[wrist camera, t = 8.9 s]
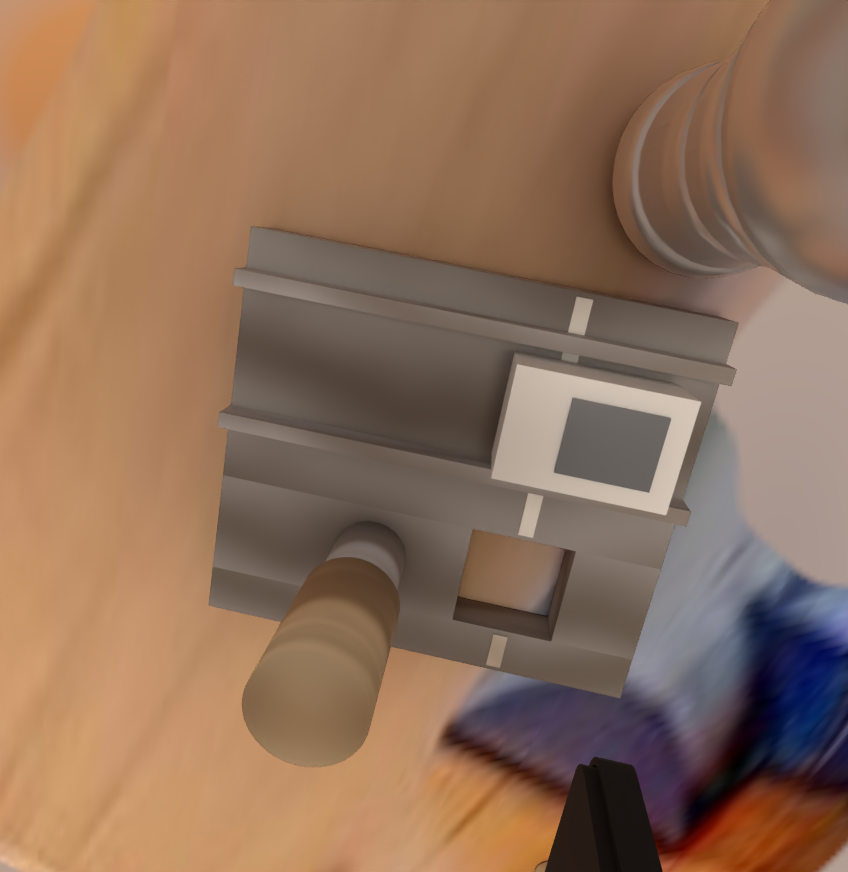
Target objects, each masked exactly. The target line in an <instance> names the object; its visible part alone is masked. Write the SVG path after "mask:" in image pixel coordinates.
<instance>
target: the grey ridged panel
mask: <svg viewBox="0 0 848 872" xmlns="http://www.w3.org/2000/svg"><path fill="white" fill-rule="evenodd" d="M233 285H234V286H239V287H244V292H243V301H242V310H241V319H240V328H239V337H238V346H237V355H236V364H235V373H234V382H233V391H232V400H231V405H230V406H229V407H227V408H225V409H224V410H222V411H220V412H219V419H218V427H220V428H225V429H228V436H227V445H226V454H225V463H224V472H223V481H222V489H221V498H220V507H219V516H218V525H217V534H216V543H215V552H214V561H213V570H212V579H211V588H210V597H209V606H213V607H217V608H222V609H226V610H230V611H235V612H239V613H244V614H248V615H253V616H257V617H262V618H266V619H270V620H275V621H279V622H282V620H283V619H284V617H285V615H286V613H287V612H288V610H289V608H290V606H291V605H292V603H293V601H294V599H295V597H296V596H297V594H298V592H299V590H300V589H301V587H302V585H303V583H304V582H305V580H306V578H307V576H308V575H309V574H310V573H311V571H312V570H313V569H315V568H316V567H317V566H318V565H320V564H321V563H323V562H325V560H326V559H327V557H328V555H329V553H330V551H331V549H332V547H333V546H334V544H335V542H336V540H337V538H338V537H339V535H340V534H341V532H342V531H343V530H344V529H346V528H347V527H348V526H350V525H352V524H355V523H358V522H363V521H372V522H377V523H381V524H383V525H385V526H387V527H389V528H390V529H392V530H393V531H394V532H395V533H396V534H397V535H398V536H399V538H400V539H401V541H402V543H403V545H404V548H405V553H406V560H405V565H404V569H403V572H402V576H401V579H400V583H399V586H398V590H397V592H398V595H399V600H400V613H399V617H398V621H397V625H396V629H395V633H394V636H393V640H392V644H391V647H395V648H399V649H404V650H408V651H413V652H417V653H422V654H426V655H431V656H435V657H440V658H444V659H448V660H453V661H457V662H462V663H466V664H471V665H475V666H480V667H484V668H488V669H493V670H497V671H502V672H506V673H511V674H515V675H520V676H524V677H528V678H533V679H537V680H542V681H546V682H551V683H555V684H560V685H564V686H569V687H573V688H577V689H582V690H586V691H591V692H595V693H600V694H604V695H609V696H613V697H617V698H620V697H621V694H622V690H623V687H624V684H625V681H626V678H627V675H628V672H629V668H630V665H631V662H632V659H633V656H634V653H635V649H636V646H637V643H638V640H639V637H640V634H641V630H642V627H643V624H644V621H645V618H646V615H647V611H648V608H649V605H650V602H651V599H652V596H653V592H654V589H655V586H656V583H657V580H658V577H659V573H660V570H661V567H662V564H663V561H664V558H665V554H666V551H667V548H668V545H669V542H670V539H671V535H672V532H673V529H674V526H675V524H677V525H681V526H687V523H688V520H689V517H690V514H691V511H690V510H689V508H688V507H687V506H686V504H685V503H684V501H683V498H684V494H685V491H686V488H687V485H688V482H689V479H690V475H691V472H692V469H693V466H694V463H695V460H696V456H697V453H698V450H699V447H700V444H701V441H702V437H703V434H704V431H705V428H706V425H707V422H708V418H709V415H710V412H711V409H712V406H713V403H714V399H715V396H716V393H717V390H718V387H719V384H723V385H728V386H732V383H733V380H734V377H735V374H736V369H735V368H733V367H731V366H729V365H727V364H726V361H727V358H728V355H729V352H730V349H731V346H732V343H733V339H734V336H735V333H736V330H737V327H738V324H739V323H737V322H734V321H731V320H728V319H725V318H722V317H717V316H712V315H707V314H702V313H697V312H692V311H687V310H682V309H677V308H672V307H666V306H661V305H656V304H651V303H646V302H641V301H636V300H631V299H626V298H621V297H616V296H611V295H606V294H601V293H596V292H591V291H586V290H581V289H576V288H571V287H566V286H560V285H555V284H550V283H545V282H540V281H535V280H530V279H525V278H520V277H515V276H510V275H505V274H500V273H495V272H490V271H485V270H480V269H475V268H470V267H465V266H459V265H454V264H449V263H444V262H439V261H434V260H429V259H424V258H419V257H414V256H409V255H404V254H399V253H394V252H389V251H384V250H379V249H374V248H369V247H364V246H358V245H353V244H348V243H343V242H338V241H333V240H328V239H323V238H318V237H313V236H308V235H303V234H298V233H293V232H288V231H283V230H278V229H273V228H267V227H254V226H251V230H250V239H249V248H248V257H247V266H246V267H245V268H235V270H234V279H233ZM515 351H519V352H524V353H528V354H533V355H538V356H543V357H548V358H553V359H558V360H563V361H568V362H573V363H578V364H583V365H588V366H592V367H597V368H602V369H607V370H612V371H617V372H622V373H627V374H632V375H637V376H642V377H647V378H652V379H657V380H661V381H666V382H671V383H676V384H679V385H680V386H681V387H683V388H684V389H685V390H687V391H688V392H689V393H690V394H692V395H693V396H694V397H696V398H697V399H698V400H700V401H701V405H700V408H699V411H698V414H697V418H696V421H695V424H694V427H693V430H692V434H691V437H690V440H689V443H688V447H687V450H686V453H685V456H684V459H683V463H682V466H681V469H680V472H679V475H678V479H677V482H676V485H675V488H674V492H673V495H672V498H671V501H670V504H669V508H668V511H667V514H666V515H662V514H657V513H652V512H648V511H643V510H638V509H633V508H629V507H624V506H619V505H615V504H610V503H605V502H600V501H596V500H591V499H586V498H582V497H577V496H572V495H567V494H563V493H558V492H553V491H548V490H544V489H539V488H534V487H530V486H525V485H520V484H515V483H511V482H506V481H501V480H497V479H492V478H491V460H492V449H493V445H494V440H495V436H496V432H497V427H498V423H499V418H500V414H501V410H502V405H503V401H504V396H505V392H506V388H507V383H508V379H509V374H510V370H511V365H512V361H513V357H514V352H515ZM473 529H475V530H480V531H484V532H489V533H494V534H498V535H503V536H508V537H512V538H517V539H521V540H526V541H531V542H535V543H540V544H545V545H549V546H554V547H559V548H563V549H566V551H565V555H564V559H563V562H562V566H561V570H560V573H559V577H558V581H557V585H556V588H555V592H554V596H553V599H552V603H551V607H550V610H549V614H548V617H546V616H541V615H537V614H532V613H528V612H523V611H519V610H514V609H510V608H505V607H501V606H496V605H492V604H487V603H483V602H478V601H473V600H469V599H464V598H460V597H458V592H459V588H460V583H461V579H462V575H463V570H464V566H465V561H466V557H467V552H468V548H469V544H470V539H471V535H472V530H473Z"/></svg>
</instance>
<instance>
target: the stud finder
mask: <svg viewBox="0 0 848 872" xmlns="http://www.w3.org/2000/svg"><path fill="white" fill-rule="evenodd" d="M700 405H701V401H700V400H698V399H697V398H696V397H694V396H693V395H692V394H690V393H689V392H688V391H687V390H685V389H684V388H683V387H681V386H680V385H679V384H676V383H671V382H666V381H661V380H657V379H652V378H647V377H642V376H637V375H632V374H627V373H622V372H617V371H612V370H607V369H602V368H597V367H592V366H588V365H583V364H578V363H573V362H568V361H563V360H558V359H553V358H548V357H543V356H538V355H533V354H528V353H524V352H519V351H515V352H514V357H513V361H512V365H511V370H510V374H509V379H508V383H507V388H506V392H505V396H504V401H503V405H502V410H501V414H500V418H499V423H498V427H497V432H496V436H495V440H494V445H493V449H492V460H491V478H492V479H497V480H501V481H506V482H511V483H515V484H520V485H525V486H530V487H534V488H539V489H544V490H548V491H553V492H558V493H563V494H567V495H572V496H577V497H582V498H586V499H591V500H596V501H600V502H605V503H610V504H615V505H619V506H624V507H629V508H633V509H638V510H643V511H648V512H652V513H657V514H662V515H666V514H667V511H668V508H669V504H670V501H671V498H672V495H673V492H674V488H675V485H676V482H677V479H678V475H679V472H680V469H681V466H682V463H683V459H684V456H685V453H686V450H687V447H688V443H689V440H690V437H691V434H692V430H693V427H694V424H695V421H696V418H697V414H698V411H699V408H700Z"/></svg>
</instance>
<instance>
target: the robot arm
mask: <svg viewBox="0 0 848 872" xmlns="http://www.w3.org/2000/svg"><path fill="white" fill-rule="evenodd" d="M545 872H663V871H662V867H661V864H660V860H659V856H658V853H657V849H656V845H655V841H654V838H653V834H652V830H651V826H650V823H649V819H648V815H647V811H646V808H645V804H644V800H643V796H642V793H641V789H640V785H639V782H638V778H637V774H636V771H635V769H634V767H633V766H632V765H629V764H625V763H620V762H616V761H612V760H607V759H603V758H599V757H594V758H593V759H592V760H591V762H590V765H589V766H587V765H583V764H579V765H578V766H577V769H576V771H575V774H574V778H573V781H572V784H571V787H570V791H569V794H568V797H567V800H566V804H565V807H564V810H563V813H562V817H561V820H560V823H559V826H558V830H557V833H556V836H555V839H554V843H553V846H552V849H551V853H550V856H549V859H548V862H547V866H546V869H545Z"/></svg>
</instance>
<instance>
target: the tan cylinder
mask: <svg viewBox="0 0 848 872" xmlns="http://www.w3.org/2000/svg"><path fill="white" fill-rule="evenodd" d="M405 560H406V553H405V548H404V545H403V543H402V541H401V539H400V538H399V536H398V535H397V534H396V533H395V532H394V531H393V530H392V529H390V528H389V527H387V526H385V525H383V524H381V523H377V522H372V521H363V522H358V523H355V524H352V525H350V526H348V527H347V528H346V529H344V530H343V531H342V532H341V534H340V535H339V537H338V538H337V540H336V542H335V544H334V546H333V547H332V549H331V551H330V553H329V555H328V557H327V559H326V560H325V562H323V563H321V564H320V565H318V566H317V567H316V568H315V569H313V570H312V571H311V573H310V574H309V575H308V576H307V578H306V580H305V582H304V583H303V585H302V587H301V589H300V590H299V592H298V594H297V596H296V597H295V599H294V601H293V603H292V605H291V606H290V608H289V610H288V612H287V613H286V615H285V617H284V619H283V620H282V622H281V624H280V626H279V627H278V629H277V631H276V633H275V634H274V636H273V638H272V640H271V642H270V643H269V645H268V647H267V649H266V650H265V652H264V654H263V656H262V657H261V659H260V661H259V663H258V664H257V666H256V668H255V670H254V671H253V673H252V675H251V677H250V679H249V680H248V682H247V684H246V686H245V689H244V692H243V697H242V711H243V716H244V720H245V722H246V725H247V727H248V729H249V731H250V733H251V734H252V736H253V737H254V738H255V740H256V741H257V742H258V743H259V744H260V745H261V746H262V747H263V748H264V749H265V750H266V751H268V752H269V753H270V754H272V755H273V756H275V757H277V758H279V759H281V760H283V761H285V762H288V763H291V764H294V765H298V766H303V767H325V766H330V765H334V764H337V763H339V762H342V761H344V760H346V759H347V758H349V757H350V756H352V755H353V754H354V753H355V752H356V751H357V750H358V749H359V748H360V747H361V746H362V744H363V743H364V741H365V739H366V737H367V735H368V732H369V728H370V725H371V721H372V717H373V713H374V709H375V705H376V702H377V698H378V694H379V690H380V686H381V682H382V679H383V675H384V671H385V667H386V663H387V659H388V656H389V652H390V648H391V644H392V640H393V636H394V633H395V629H396V625H397V621H398V617H399V613H400V600H399V595H398V592H397V590H398V586H399V583H400V579H401V576H402V572H403V569H404V565H405Z"/></svg>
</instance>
